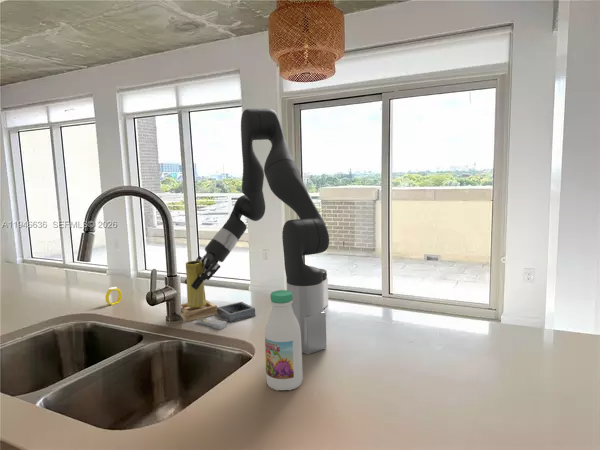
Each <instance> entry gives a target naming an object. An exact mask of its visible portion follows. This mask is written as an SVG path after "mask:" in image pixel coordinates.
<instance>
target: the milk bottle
mask: <svg viewBox="0 0 600 450" xmlns="http://www.w3.org/2000/svg"><path fill="white" fill-rule="evenodd" d="M269 299H270V305H271V310H270V315H269V317H268V320H267V322H266V324H265V331H264V347H265V348H264V349H265V370H266V371H265V373H266V374H265V375H266V377H265V378H266V383H267V385H268V387H269V388H270V387H271V388H270V389H272V388H273V389H272V390H274V389H275V391H278V390H289V391H292V389H293V390H295V389H298V388H299V387H300V386H301V385H302V383H303V353H302V348H301V331H300V326H299V323H298V320H297V318H296V316H295V314H294V312H293V309H292V303H293V301H292V299H293V296H292V292H290V291H287V289H286V290H285V289H284V290H283V289H280V290H274V291H272V292H270V298H269Z"/></svg>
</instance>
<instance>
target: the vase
mask: <svg viewBox="0 0 600 450" xmlns="http://www.w3.org/2000/svg"><path fill="white" fill-rule="evenodd" d="M201 268H202V261H196V260H191V261H187V262H186V261H185V271H186V279H187V284H186V294H187V295H186V296H187V297H186V298H187V301H186V303H187V306H188V307H191V308H197V307H202V306H204V305H206V300H207V299H206V292H205V281H203V282H202V284H201V285H200V286H199V287H198V289H197V290H195V289H194V288H193V287H191V285H192V283H193V282H194V281H195V280H196V278H197V277H199V274H200V272H201Z"/></svg>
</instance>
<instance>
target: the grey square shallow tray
mask: <svg viewBox="0 0 600 450" xmlns="http://www.w3.org/2000/svg"><path fill="white" fill-rule="evenodd" d="M216 315H217V316H218V317H221V318H222V319H224V320H225V321H226V322H229V323H231V322H232V323H233V322H236V321H240V320H243V319H247V318H251V317H255V316H256V308H255V307H253V306H251V305H250V304H247V303H245V302H244V301H239V302H235V303H229V304H227V305H222V306H217V314H216Z"/></svg>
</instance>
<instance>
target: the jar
mask: <svg viewBox="0 0 600 450" xmlns="http://www.w3.org/2000/svg"><path fill="white" fill-rule="evenodd" d="M319 269H320V270H321V271H322V275H323V310H325V308H326V307H328V305H329V278H328V273H327V270H326V269H323V268H319Z"/></svg>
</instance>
